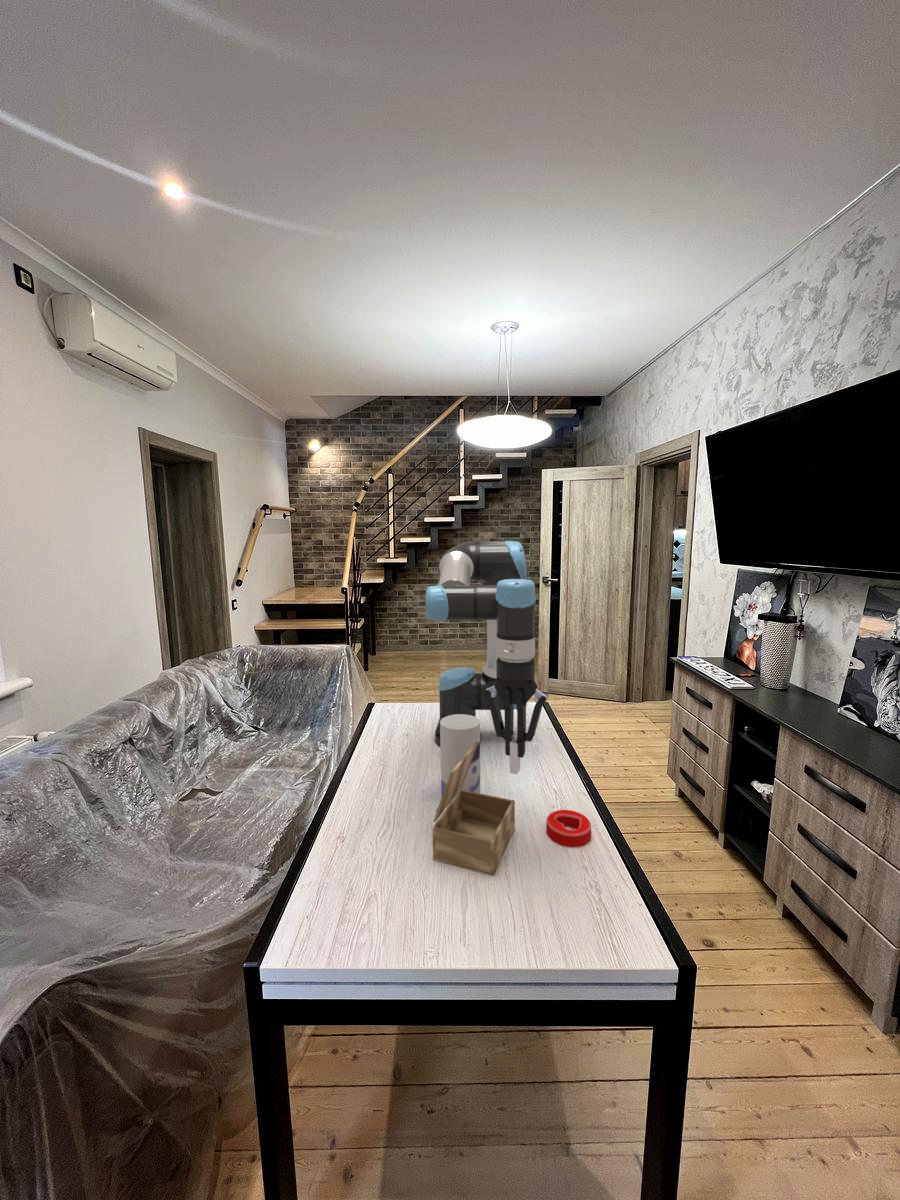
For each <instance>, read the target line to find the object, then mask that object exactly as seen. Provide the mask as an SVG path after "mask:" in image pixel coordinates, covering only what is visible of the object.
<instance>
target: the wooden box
mask: <svg viewBox="0 0 900 1200" xmlns="http://www.w3.org/2000/svg"><path fill="white" fill-rule="evenodd" d="M515 804H516V800H513V799H510V798H504V797H498V796H493V795H489V794H484V793H481V792H480V793H475V792H470V791H465V790H460V791H459V793H458V794H457V795H456V797H455V798H454V799H453V801H452V802H451V803H450V804H448V806H447V807H446V808H445V810H444V811H443V813H442V814H441V815H440V817H439V818H438V819H437V821H436V822H435V824H434V825H433V826H432V830H431V832H432V834H431V835H432V860H433V861H437V862H441V863H444V864H447V865H452V866H455V867H459V868H463V869H467V870H472V871H473V872H478V873H482V874H485V875H489V876H493V877H494V876H495V874H496V871H497V869H498V867H499V865H500V863H501V860H502V858H503V856H504V853H505V851H506V849H507V847H508V845H509V843H510V841H511V838H512V836H513V834H514V833H515V830H516V829H515V828H516V826H515V823H516V822H515V821H516V818H515V817H516V815H515V814H516V813H515V812H516V807H515V806H516V805H515Z"/></svg>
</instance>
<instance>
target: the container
mask: <svg viewBox="0 0 900 1200" xmlns="http://www.w3.org/2000/svg"><path fill="white" fill-rule="evenodd" d="M480 731H481V721H480V719H479V718H478V717H474V716H471V715H465V714H455V715H449V716H446V717H444V718H442V719H441V721H440V746H439V747H440V786H441V788H440V790H441V797H442V795H443V792H444V790H445V787H446V784H447V781H448V779H449V776H450V773H451V771H452V770H453V769H454V768H455V766H456V765H457V764H458V763H459V762H460V760H461V759H462V758H463V757H464V756H465V754H466V753H467V752H468V751H469V750H470V748H471V747H472V746H473V745H474V744H475V742H476V741H478V742H479V743H478V745H477V748H476V751H475V753H474V756H473V759H472V761H471V764H470V766H469V769H468V772H467V774H466V777H465V780H464V782H463V785H462V787H461V788H460V790H465V791H470V792H475V793H480V794H481V742H480ZM460 790H459V791H460ZM459 791H458V792H457V794H458V793H459ZM457 794H456V795H457ZM456 795H455V796H454V798H455V797H456ZM454 798H453V799H454ZM453 799H452V800H451V802H452V801H453ZM451 802H450V803H451ZM450 803H449V804H448V805H450Z"/></svg>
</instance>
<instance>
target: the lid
mask: <svg viewBox="0 0 900 1200" xmlns="http://www.w3.org/2000/svg"><path fill="white" fill-rule="evenodd" d="M478 743H479V742H478V741H476V742H475V744H474V745H473V746H472V747H471V748H470V750H469V751H468V752H467V753H466V754H465V756H464V757H463V758H462V759H461V760H460V762H459V763H458V764H457V765H456V766H455V768H454V769H453V770H452V771H451V773H450V776H449V779H448V781H447V784H446V787H445V790H444V792H443V795H442V796H441V799H440V801H439V804H438V806H437V807H436V810H435V814H434V816H433V817H434V818H433V820H432V822H434V823H436V822H437V821H438V820H439V818H440V817H441V816H442V814H443V813H444V812H445V810H446V809H447V808H448V806H449V805H450V804H449V803H450V802H451V800H452V799H453V798H454V796H455V795H456V794H457V792H458V791H459V790H460V788H461V787H462V785H463V782H464V780H465V777H466V774H467V772H468V769H469V766H470V764H471V761H472V759H473V756H474V753H475V751H476V748H477V745H478Z"/></svg>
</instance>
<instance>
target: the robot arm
mask: <svg viewBox="0 0 900 1200" xmlns="http://www.w3.org/2000/svg"><path fill="white" fill-rule="evenodd" d="M438 571H439V575H440V577H439V581H438V584H437V585H430V586H428V587H427V588H426V591H425V614H426V617H427V618H428V619H429V620H431V621H432V620H433V621H441V622H445V621H487V622H486V623H487V624H486V629H487V630H486V635H487V636H486V639H487V640H486V646H487V647H486V649H487V650H486V664H485V665H484V666H482V669H481V670H482V671H481V672H477V671H476V670H475V668H473V667H469V666H461V667H459V666H458V667H455V668H451V669H447V670H445V671H443V672H442V673H441V674H440V676H439V681H438V690H439V693H438V694H439V718H438V722H437V724H436V729H435V732H434V742H435V744H436V745H437V746H439V747H440V721H441V719H442V718H444V717H446V716H449V715H455V714H465V715H471V716H474V717H476V712H477V711H490V715H491V719H492V722H493V728H494V731H495V736H496V737H497V738H503V740H504V742H505V743H504V745H505V746H504V747H505V748H504V749H505V750H504V753H505V755H506V756H508V757H509V774H513V775H518V774H519V771H520V769H521V758H524V756H525V754H526V742H532V741H533V739H534V737H535V735H536V731H537V728H538V724H539V720H540V717H541V713H542V710H543V705H545V703H546V701H547V700H548V698H549V695H548V693H546V692H544V693H543V692H542V691H540V690H539V689H538V685H537V683H536V680H535V679H536V678H535V675H536V674H535V673H536V670H535V667H536V666H535V665H536V664H535V663H536V661H535V659H534V657H535V656H536V637H535V635H536V633H535V631H536V628H535V627H536V622H535V621H536V602H537V596H536V586H535V582H534V581H533V580H531V579H528V577H527V576H528V571H527V561H526V555H525V551H524V547H523V545H522V543H521V542H519V541H511V540H490V541H489V540H488V541H487V540H486V541H467V542H463V543H460V544H457V545H455V546H454V547H451V548H450V549H448V550H447V551H445V553H444V554H443V555H442V556H441V559H440V561H439V565H438ZM471 582H481V585H478V584H477V585H475V584H473V585H471ZM533 696H534V702H535V705H534V707H533V710H532V714H531V719H530V722H529V725H528V729H527V705H528V702H529V700H530V699H532V697H533ZM514 710H516V716H517V717H516V719H517V720H516V730H517V731H516V737H515V736H514V735H515V732H514V719H515V718H514V714H515V713H514ZM501 711H504V719H503V716H502V712H501ZM476 718H477V717H476ZM481 742H482V731H481V730H480V743H481Z"/></svg>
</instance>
